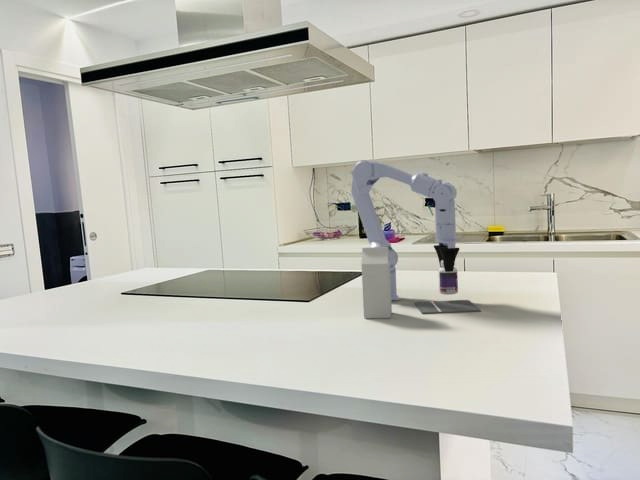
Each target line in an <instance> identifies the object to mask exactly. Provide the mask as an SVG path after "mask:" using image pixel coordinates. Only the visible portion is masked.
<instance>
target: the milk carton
mask: <svg viewBox="0 0 640 480" xmlns="http://www.w3.org/2000/svg"><path fill="white" fill-rule="evenodd" d="M361 249H362V253H361V254H362V255H361V278H362V279H361V280H362V281H361V283H362V285H361V286H362V301H363V303H362V305H363V318H364V319H391V316H392V311H393V310H392V309H393V307H392V306H393V305H392V300H391V280H390V258H389V251H388V247H372V248H369V247H362V248H361Z"/></svg>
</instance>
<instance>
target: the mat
mask: <svg viewBox="0 0 640 480" xmlns="http://www.w3.org/2000/svg"><path fill="white" fill-rule="evenodd" d="M414 304H415V306H416V307H417V309H418V310H419V312H420V313H421V314H422V315H425V314H427V315H428V314H450V313H451V314H452V313H453V314H455V313H474V312H478V313H479V312H481V311H482V310H481V308H479V307H478V306H477V305H476V304H474V302H472V301H471V300H469V299H459V300H458V299H457V300H453V299H452V300H451V299H450V300H437V301H436V300H435V301H434V300H428V301H414Z"/></svg>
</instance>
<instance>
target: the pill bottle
mask: <svg viewBox="0 0 640 480" xmlns="http://www.w3.org/2000/svg"><path fill="white" fill-rule="evenodd" d="M455 263H456V262H455ZM455 263H454V266H455V265H456V264H455ZM441 266H442V267H439V269H438V288H439V290H438V291H439V294H441V295H456V294H458V293H459V285H458V284H459V281H458V269H457V267H454V269H453V271H449V272H446V271H445V269H444V263H443V260H442V261H441Z"/></svg>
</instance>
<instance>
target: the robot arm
mask: <svg viewBox="0 0 640 480" xmlns="http://www.w3.org/2000/svg"><path fill="white" fill-rule="evenodd" d="M350 173H351V176H352V179H351V191H350V192H351V196H352V198H353V202H354V204H355V208H356V209H357V213H358V215H359V218H360V221H361V224H362V226H363V230H364V232H365V235H366V238H367V241H368V244H369V246H368V248H372V247H388V251H389V258H390V280H391V301H400V297H399V295H398V293H397V271H396V270H397V268H396V265H397V264H398V261H399V256H398V254H397V252H396V250H395V249H394V248H393V247H392V244H391V243H390V241H388V240H387V238H386V235H385V233H384V230H383V227H382V225H381V223H380V219H379V216H378V214H377V210H376V208H375V205H374V203H373V200H372V197H371V195H370V192H371V190H372V188H373V186H374V185H375V184H376V183H377V182H378V181H379V180H380V179H382V178H388V179H389V178H390V179H391V180H395V181H397V182H399V183H403V184H406V185H407V186H409V187H410V189H411V191H412V192H414V193H416V194H419V195H422V196H424V197H427V198H429V199H433V201H434V204H435V209H434V212H435V213H434V214H435V239H434V241H435V243H437V244H435V245H433V248H434V250H435V252H436V255H437V258H438V262H439V268H441V267H442V266H441V261H442V260H443V263H444V269H445V271H446V272H449V271H453V269H454V268H455V265H454V263H456V259H457V255H458V253H459V251H460V248H459V247H456V243H457V242H460V241H461V239H460V238H459V237H457V233H456V232H457V231H456V206H455V204H456V203H455V201H456V200H455V199H456V198H457V189H456V187H455V186H454V185H453V184H452V183H450V182H444V183H443V179H440V178H439V179H436V178H434V177H431V176H429V174H428V173H427V172H422V173H420V172H419V173H416V174H412V173H409V172H406V171H404V170H402V169H400V168H398V167H396V166H393V165H391V164H387V163H384V162H379V161H376V160H366V159H365V160H363V159H362V160H359V161H357V162H356V163H355V165H354V166H353V169H352V171H351V172H350Z"/></svg>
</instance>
